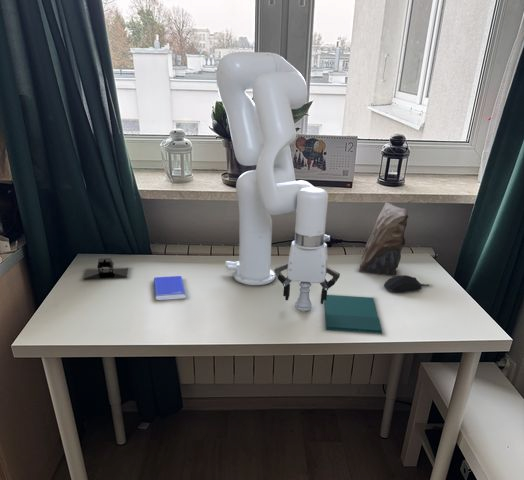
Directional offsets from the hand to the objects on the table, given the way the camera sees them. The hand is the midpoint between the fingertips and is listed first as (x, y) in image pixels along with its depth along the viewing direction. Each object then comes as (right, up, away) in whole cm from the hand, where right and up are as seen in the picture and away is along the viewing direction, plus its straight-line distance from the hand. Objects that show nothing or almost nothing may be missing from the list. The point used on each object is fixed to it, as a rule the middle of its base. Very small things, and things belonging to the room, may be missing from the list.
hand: (304, 300), depth 137 cm
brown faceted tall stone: (+26, +13, +27) cm, 40 cm away
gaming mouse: (+32, +5, +15) cm, 36 cm away
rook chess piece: (0, -2, +2) cm, 3 cm away
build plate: (-59, +9, +17) cm, 62 cm away
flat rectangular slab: (+13, -4, 0) cm, 13 cm away
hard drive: (-38, +4, +9) cm, 39 cm away
